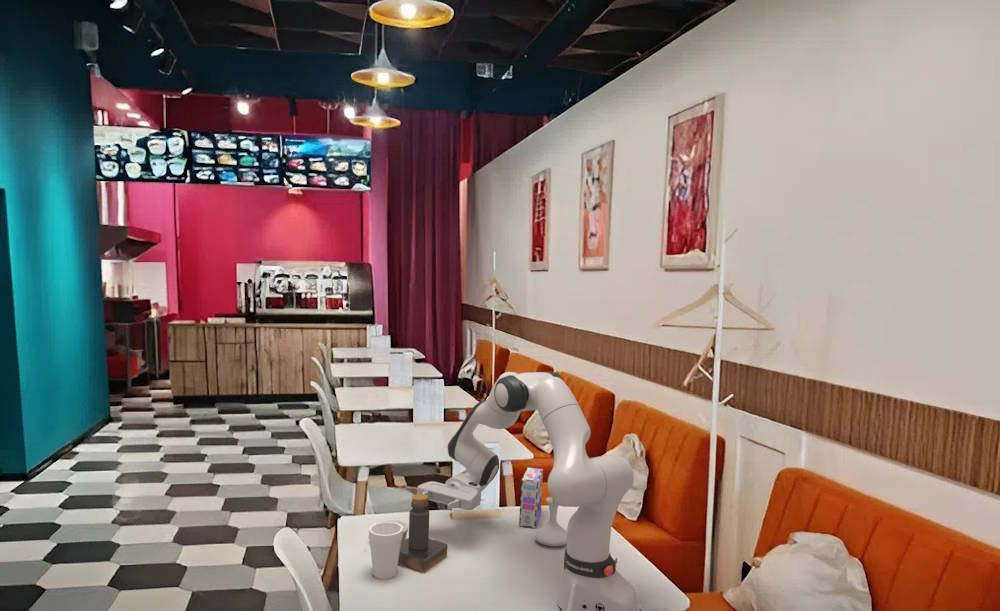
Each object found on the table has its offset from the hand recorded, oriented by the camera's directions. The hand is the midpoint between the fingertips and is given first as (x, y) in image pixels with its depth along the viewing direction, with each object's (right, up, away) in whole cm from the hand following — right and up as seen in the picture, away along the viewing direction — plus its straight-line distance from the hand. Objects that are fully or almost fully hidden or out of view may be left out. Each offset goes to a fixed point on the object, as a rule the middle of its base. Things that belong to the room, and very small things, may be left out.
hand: (433, 503), depth 194 cm
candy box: (+31, -14, +27) cm, 44 cm away
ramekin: (-14, -14, +5) cm, 21 cm away
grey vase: (+37, -16, +11) cm, 42 cm away
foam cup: (-12, -15, -14) cm, 24 cm away
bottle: (-4, -11, -5) cm, 13 cm away
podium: (-4, -15, -5) cm, 16 cm away
